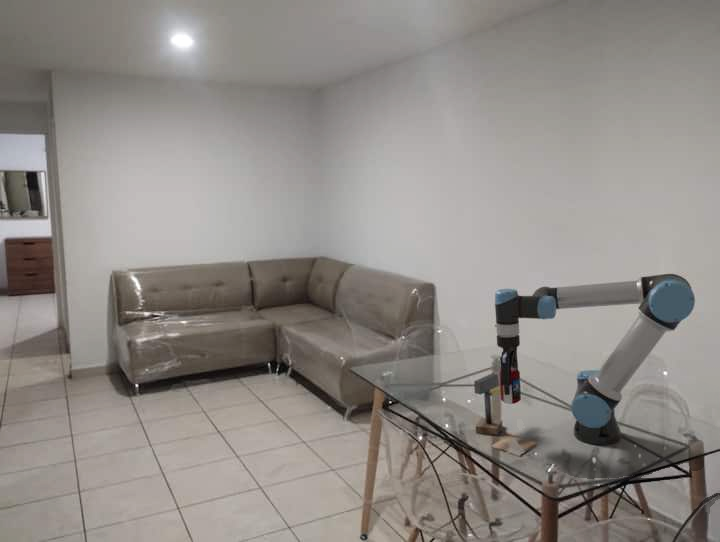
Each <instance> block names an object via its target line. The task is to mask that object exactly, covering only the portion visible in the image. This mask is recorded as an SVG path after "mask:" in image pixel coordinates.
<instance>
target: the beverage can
mask: <svg viewBox="0 0 720 542" xmlns="http://www.w3.org/2000/svg"><path fill="white" fill-rule="evenodd" d="M500 383H501V369H500V371H499V386H500V392H499V393H500V399H501V401H502V402H504V393H503V385H500ZM511 385H512V404H511V405H513V404H517V403H519V402H520V401H521V400H522V393H521V392H522V391H521V373H520V370H519V368H518V369H517V367H516V366H511ZM507 404H508V405H509V403H507Z"/></svg>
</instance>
